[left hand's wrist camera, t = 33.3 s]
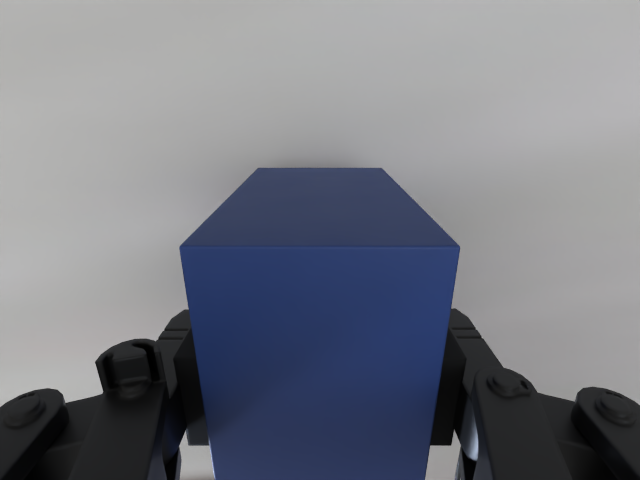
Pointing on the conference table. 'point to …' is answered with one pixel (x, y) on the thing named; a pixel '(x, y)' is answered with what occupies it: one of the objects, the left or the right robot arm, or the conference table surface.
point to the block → (319, 326)
